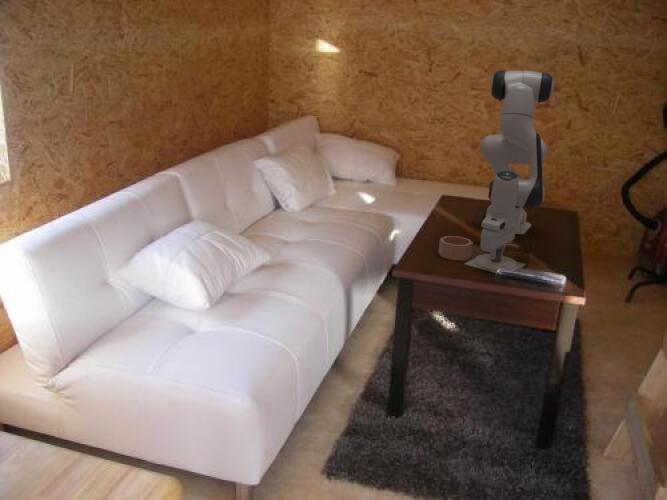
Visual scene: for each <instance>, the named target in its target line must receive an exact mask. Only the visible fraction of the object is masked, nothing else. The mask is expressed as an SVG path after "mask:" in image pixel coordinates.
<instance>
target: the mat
mask: <svg viewBox="0 0 667 500" xmlns="http://www.w3.org/2000/svg"><path fill="white" fill-rule="evenodd" d="M484 254H487V253H484ZM475 259H476V257H474V258H473V259H471V260H469V261H467V262H465V263H464V265H465V266H470V267H473V268H477V269H481V270H483V271H488V272H491V273H494V274H497V271H493V270H488V269H485V268H482V267H480V266H478V265H477V264H476V263H475ZM526 265H527V264H526V263H523V262H519V261H516V267H518V268H519V269H521V268H523V267H524V266H526Z"/></svg>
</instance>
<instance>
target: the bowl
mask: <svg viewBox="0 0 667 500" xmlns="http://www.w3.org/2000/svg"><path fill="white" fill-rule="evenodd" d="M438 245H439V246H438V251H437V252H438V255H439V256H440V257H441V258H443V259H446V260H450V261H467V260H469V259H472V254H473V246H474V242H473V241H472V240H471V239H470V238H466V237H464V236H459V235H454V236H453V235H445V236H443V237H440V238H439V244H438Z"/></svg>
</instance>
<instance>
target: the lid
mask: <svg viewBox="0 0 667 500" xmlns="http://www.w3.org/2000/svg"><path fill="white" fill-rule="evenodd" d="M496 254H497V258H496V259H494V260H492V259H490V253H486V254H485V253H483V254H479V255H477V256H476V257H475V258H476V259H475V258H474V259H475V263H476V264H477V265H478V266H480V267H482V268H485V269H488V270H493V271H497V270H498V269H499V268H500V266H511V267H516V262H517V261H516V260H515V259H513V258H511V257H508V256H506V255H502V250H501V249H498V248H497V250H496Z"/></svg>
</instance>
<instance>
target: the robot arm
mask: <svg viewBox="0 0 667 500" xmlns="http://www.w3.org/2000/svg"><path fill="white" fill-rule="evenodd" d="M489 89H490V93H491V96H492V97H493V99H495V100H498V101H499V102H501V101H503V103H502V108H501V112H500V117H499V130H500V133H501V134H491V135H487V136H485V137H484V138H483V139H482V140H481V142H480V148H479V149H480V155H481V156H482V158H483V159H484V160H485V161H486V162H487V163H488V164H489V166H490V167H491V169H492V172H493V176H494V179H493V180H492V181H490V182H489V188H488V197H487V198H488V199H489V200H490V201H491V202H490V205H489V206H487V208H486V214H485V218H483V220H482V222H481V227H482V230H481V234H480V249H481V250H482V251H485V252H489V254H490V259H492V260H494V259H496V258H497V254H496V250H497V249H501V250H502V256H504V251H505V248H506V246H507V244H508V243H510V242H512V241H514V240H515V237H516V235H525V234H526V233H527V232H528V230H529V229H530V228H531V226H532V223H530V222H527V217H528V216H527V215H528V213H527V212H526V211H525V209H529V210H535V209H536V208H539V207H540V206H541V205H542V204H543V202H544V201H545V195H546V194H545V185H544V182H543V181H544V180H543V161H544V160H545V158H546V157H547V154H548V148H547V144H546V142H545V141H544V140H543V139H542V138H541V136H540V134H539V133H538V132H537V131H536V130H535V128H534V127H535V126H534V115H535V114H534V113H535V103H538V104H539V103H546V102H548V101H549V100H550V98H551V96H552V95H553V93H554V90H555V81H554V79H553V75H551V74H550V73H547V72H544V71H542V72H539V71H533V70H526V69H525V70H505V69H504V70H502V69H501V70H498V71H496V72H495V73H494V74H493V76H492V78H491V80H490V83H489ZM510 164H512V165H513V164H514V165H516V164H517V165H525V166H529V165H530V166H529V167H530V178H527V179H525V178H523V177H522V176H521V175H520V174H519V173H517V172H516V171H514V170H513V169H511V167H510ZM524 208H525V209H524Z"/></svg>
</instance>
